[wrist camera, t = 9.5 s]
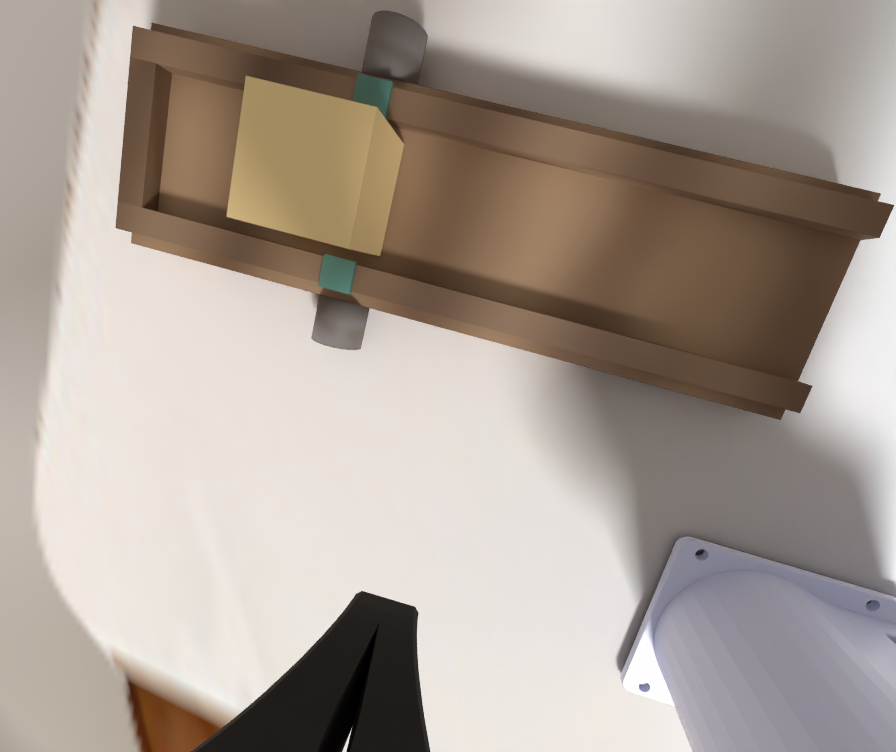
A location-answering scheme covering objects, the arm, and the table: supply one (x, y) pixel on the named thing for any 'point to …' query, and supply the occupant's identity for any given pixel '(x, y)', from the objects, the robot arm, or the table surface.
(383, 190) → the block
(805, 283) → the balance beam
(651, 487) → the table surface
